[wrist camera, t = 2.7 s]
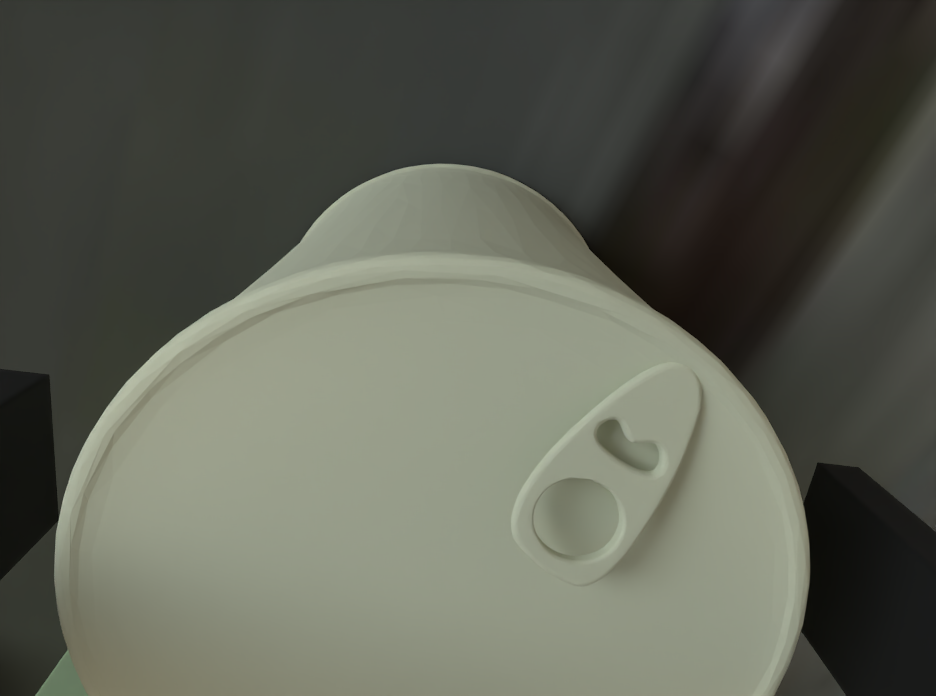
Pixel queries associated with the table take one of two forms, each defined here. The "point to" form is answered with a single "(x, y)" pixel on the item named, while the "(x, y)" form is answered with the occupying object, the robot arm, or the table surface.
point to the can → (433, 478)
